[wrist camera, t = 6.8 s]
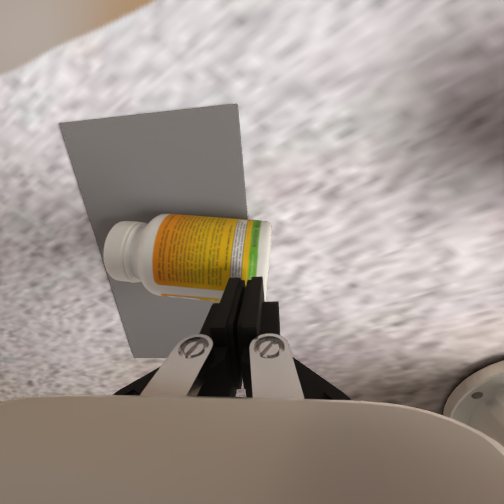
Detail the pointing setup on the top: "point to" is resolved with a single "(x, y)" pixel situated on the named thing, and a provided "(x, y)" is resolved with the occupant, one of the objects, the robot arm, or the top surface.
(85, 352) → the top surface
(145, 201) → the mat
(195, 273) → the supplement bottle
